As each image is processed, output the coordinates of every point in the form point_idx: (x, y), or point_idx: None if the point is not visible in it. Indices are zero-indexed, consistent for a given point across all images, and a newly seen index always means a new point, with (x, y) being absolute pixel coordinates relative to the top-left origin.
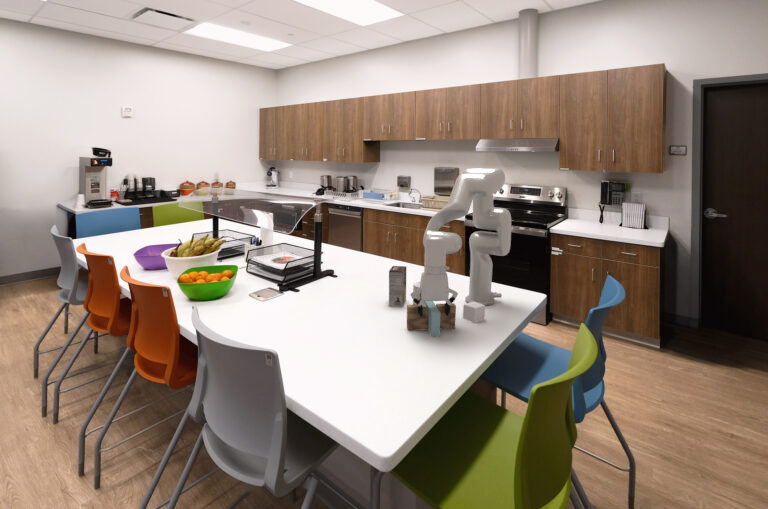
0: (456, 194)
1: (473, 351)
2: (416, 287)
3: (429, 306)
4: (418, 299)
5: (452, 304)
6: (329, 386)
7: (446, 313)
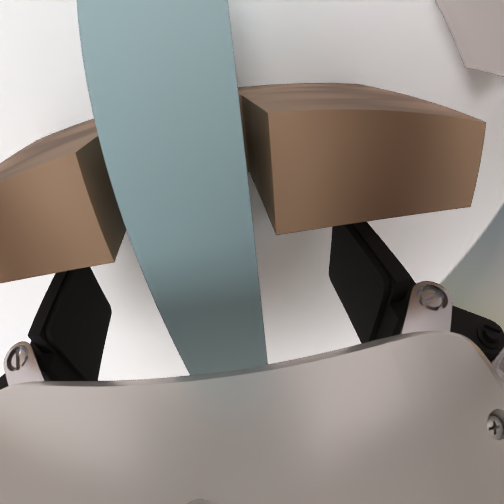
0: None
1: (343, 344)
2: None
3: (151, 245)
4: None
5: (464, 157)
6: None
7: (335, 286)
